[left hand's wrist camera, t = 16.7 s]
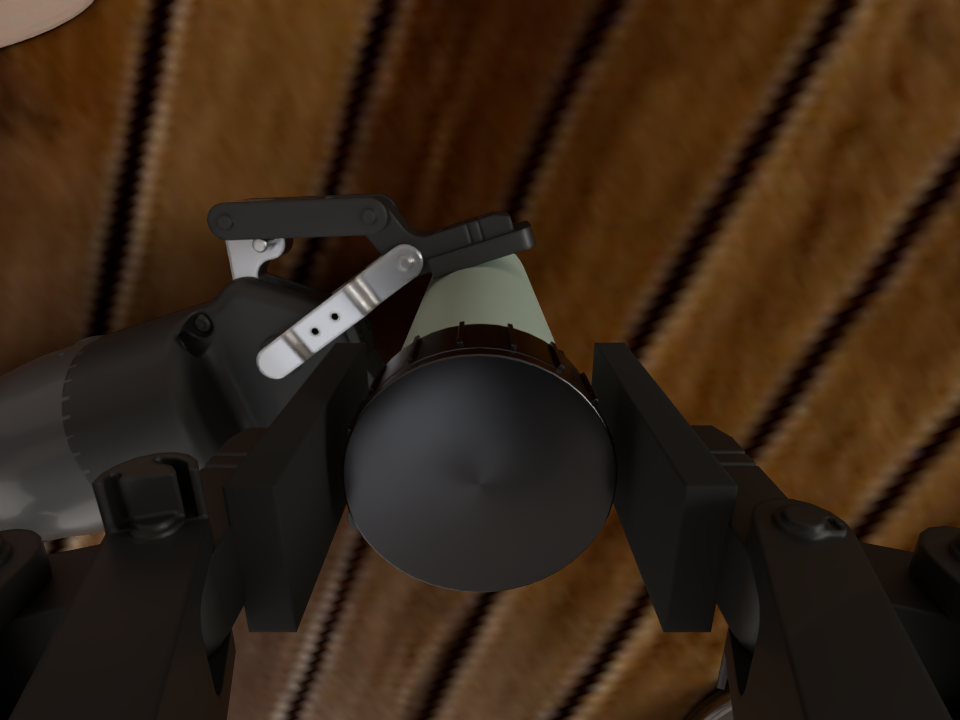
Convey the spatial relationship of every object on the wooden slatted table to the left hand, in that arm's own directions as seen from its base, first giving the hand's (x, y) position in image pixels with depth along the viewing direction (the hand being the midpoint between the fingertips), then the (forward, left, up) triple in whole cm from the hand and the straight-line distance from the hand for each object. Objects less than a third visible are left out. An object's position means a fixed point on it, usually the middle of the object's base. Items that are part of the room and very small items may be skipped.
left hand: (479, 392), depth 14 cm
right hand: (+2, -2, -7) cm, 7 cm away
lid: (0, 0, +4) cm, 4 cm away
